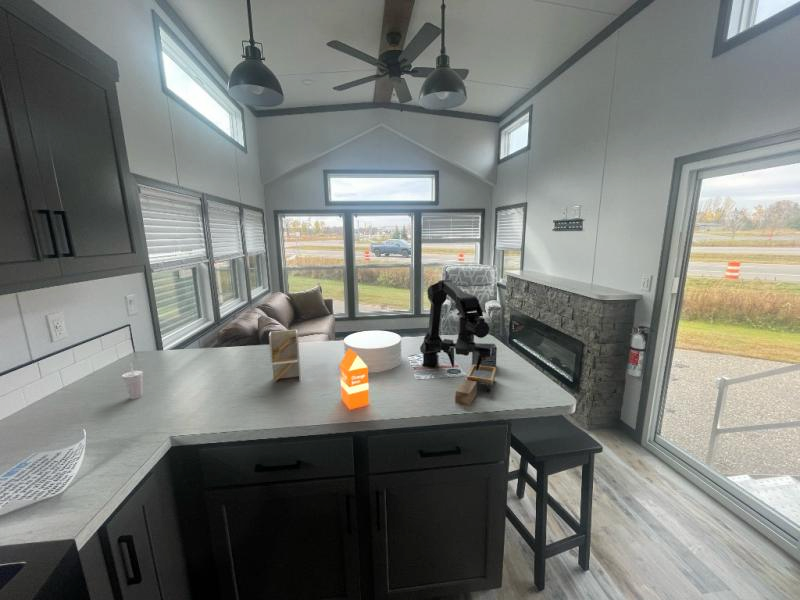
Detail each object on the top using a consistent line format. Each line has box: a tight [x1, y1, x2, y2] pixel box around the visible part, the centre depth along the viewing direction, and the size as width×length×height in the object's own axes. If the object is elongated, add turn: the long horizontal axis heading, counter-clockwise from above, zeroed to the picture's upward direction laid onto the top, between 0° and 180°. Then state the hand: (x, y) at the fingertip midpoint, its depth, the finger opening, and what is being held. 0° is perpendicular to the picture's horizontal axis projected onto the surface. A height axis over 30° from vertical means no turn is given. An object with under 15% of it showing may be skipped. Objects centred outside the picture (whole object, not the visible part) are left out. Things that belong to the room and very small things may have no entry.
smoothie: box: [121, 362, 144, 400], centre depth 127 cm, size 6×6×14 cm
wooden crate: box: [268, 324, 302, 383], centre depth 138 cm, size 8×12×26 cm
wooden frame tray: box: [466, 364, 497, 393], centre depth 135 cm, size 10×14×6 cm
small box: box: [471, 342, 498, 368], centre depth 153 cm, size 11×6×10 cm, turn 84°
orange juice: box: [339, 348, 370, 410], centre depth 121 cm, size 8×9×20 cm
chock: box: [454, 378, 478, 407], centre depth 124 cm, size 5×11×5 cm, turn 153°
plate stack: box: [343, 330, 402, 373], centre depth 161 cm, size 28×28×12 cm
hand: (464, 368), depth 125 cm, fingers open, 9 cm apart
